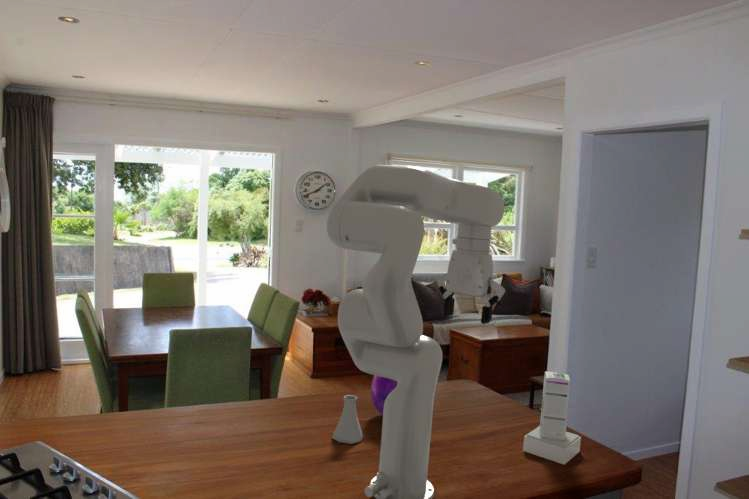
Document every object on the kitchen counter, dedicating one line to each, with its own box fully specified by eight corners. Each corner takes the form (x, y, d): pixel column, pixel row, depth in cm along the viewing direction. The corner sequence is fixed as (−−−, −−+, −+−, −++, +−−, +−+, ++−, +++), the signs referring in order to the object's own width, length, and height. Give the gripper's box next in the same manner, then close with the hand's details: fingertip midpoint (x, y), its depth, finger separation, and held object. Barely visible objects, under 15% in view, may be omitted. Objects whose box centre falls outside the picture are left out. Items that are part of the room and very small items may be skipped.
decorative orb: (394, 434, 147) (399, 374, 146) (357, 414, 159) (361, 358, 158) (438, 423, 157) (443, 366, 155) (400, 404, 168) (404, 351, 167)
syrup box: (565, 441, 141) (572, 380, 139) (539, 437, 142) (545, 376, 140) (563, 432, 146) (570, 373, 145) (538, 428, 147) (544, 370, 146)
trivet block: (564, 464, 137) (566, 447, 137) (522, 450, 143) (524, 434, 143) (579, 451, 145) (581, 435, 145) (539, 438, 151) (541, 423, 151)
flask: (326, 439, 142) (329, 397, 141) (342, 429, 148) (345, 389, 147) (352, 447, 139) (356, 405, 138) (368, 437, 145) (371, 396, 144)
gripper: (432, 242, 142) (426, 314, 143) (500, 250, 131) (493, 328, 133) (448, 241, 148) (443, 310, 149) (515, 249, 137) (508, 324, 139)
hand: (466, 319), depth 141 cm, fingers open, 9 cm apart
